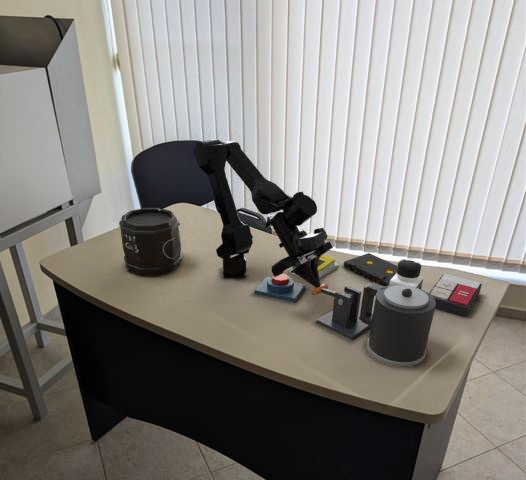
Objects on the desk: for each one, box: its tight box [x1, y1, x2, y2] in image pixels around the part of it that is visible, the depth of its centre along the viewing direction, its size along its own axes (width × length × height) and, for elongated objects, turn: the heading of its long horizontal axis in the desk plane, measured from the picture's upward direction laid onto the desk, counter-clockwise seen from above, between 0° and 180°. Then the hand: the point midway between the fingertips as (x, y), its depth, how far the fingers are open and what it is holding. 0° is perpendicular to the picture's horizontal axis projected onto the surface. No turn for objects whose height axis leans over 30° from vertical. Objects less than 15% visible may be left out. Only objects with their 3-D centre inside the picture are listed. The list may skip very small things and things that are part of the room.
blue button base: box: [253, 275, 306, 303], centre depth 139 cm, size 12×9×4 cm
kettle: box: [359, 282, 436, 367], centre depth 114 cm, size 17×14×16 cm
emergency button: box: [289, 254, 339, 280], centre depth 152 cm, size 9×4×15 cm
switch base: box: [315, 285, 371, 341], centre depth 123 cm, size 11×9×10 cm
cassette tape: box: [343, 252, 398, 287], centre depth 151 cm, size 18×12×2 cm, turn 37°
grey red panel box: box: [428, 273, 483, 318], centre depth 137 cm, size 11×4×15 cm
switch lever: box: [311, 283, 355, 304], centre depth 124 cm, size 11×5×2 cm, turn 46°
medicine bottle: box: [389, 258, 424, 289], centre depth 134 cm, size 7×7×12 cm
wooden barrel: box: [118, 207, 183, 277], centre depth 150 cm, size 18×18×16 cm
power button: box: [272, 273, 289, 285], centre depth 138 cm, size 4×4×2 cm
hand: (318, 287), depth 127 cm, fingers closed, pressing on switch lever
